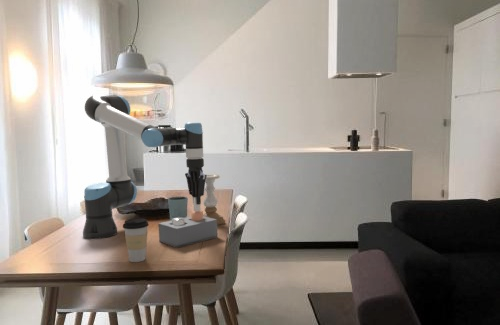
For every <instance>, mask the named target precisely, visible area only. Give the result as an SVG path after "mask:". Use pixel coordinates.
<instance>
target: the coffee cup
mask: <svg viewBox="0 0 500 325" xmlns="http://www.w3.org/2000/svg"><path fill="white" fill-rule="evenodd" d="M148 227H149V221H147V219H146V218H143V217H141V218H140V217H138V218H137V217H136V218H130V219H125V221H124V223H123V224H122V228H123V229H124V237H125V243H126V248H127V252H128V259H129V262H131V263H139V262H144V261H145V260H146V254H147V252H146V251H147V243H148V242H147V241H148V240H147V239H148Z"/></svg>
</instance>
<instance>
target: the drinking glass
mask: <svg viewBox="0 0 500 325" xmlns="http://www.w3.org/2000/svg"><path fill="white" fill-rule="evenodd" d="M167 202H168V209H169V210H168V211H169V221H172V219H173V218H186V217H188V202H189V198H188V197H187V196H172V197H168V198H167Z"/></svg>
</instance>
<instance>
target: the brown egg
mask: <svg viewBox="0 0 500 325" xmlns="http://www.w3.org/2000/svg"><path fill="white" fill-rule="evenodd" d="M203 215H204V211H203V210H201V211H198V212H194V210H192V211H190V217H191V220H192V221H195V222H196V221H201V220H203Z"/></svg>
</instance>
